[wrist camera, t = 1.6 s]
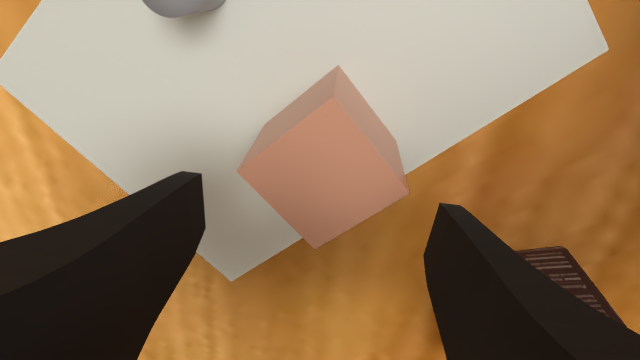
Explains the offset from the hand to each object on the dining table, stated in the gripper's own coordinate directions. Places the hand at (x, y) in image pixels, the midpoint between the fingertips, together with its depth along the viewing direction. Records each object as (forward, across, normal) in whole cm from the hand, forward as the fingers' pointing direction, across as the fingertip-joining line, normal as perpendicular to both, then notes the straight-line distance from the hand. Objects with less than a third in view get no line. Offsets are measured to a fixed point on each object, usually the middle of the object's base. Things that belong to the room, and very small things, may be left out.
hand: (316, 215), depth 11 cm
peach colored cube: (+7, 0, 0) cm, 7 cm away
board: (+8, +3, -3) cm, 9 cm away
